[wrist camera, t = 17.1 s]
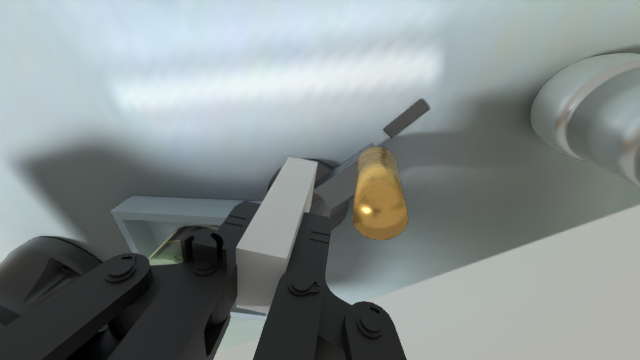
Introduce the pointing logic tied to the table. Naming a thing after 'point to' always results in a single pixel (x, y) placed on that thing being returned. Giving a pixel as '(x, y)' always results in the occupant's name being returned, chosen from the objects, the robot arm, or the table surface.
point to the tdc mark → (405, 118)
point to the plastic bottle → (594, 113)
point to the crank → (365, 193)
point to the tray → (171, 225)
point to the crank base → (322, 170)
